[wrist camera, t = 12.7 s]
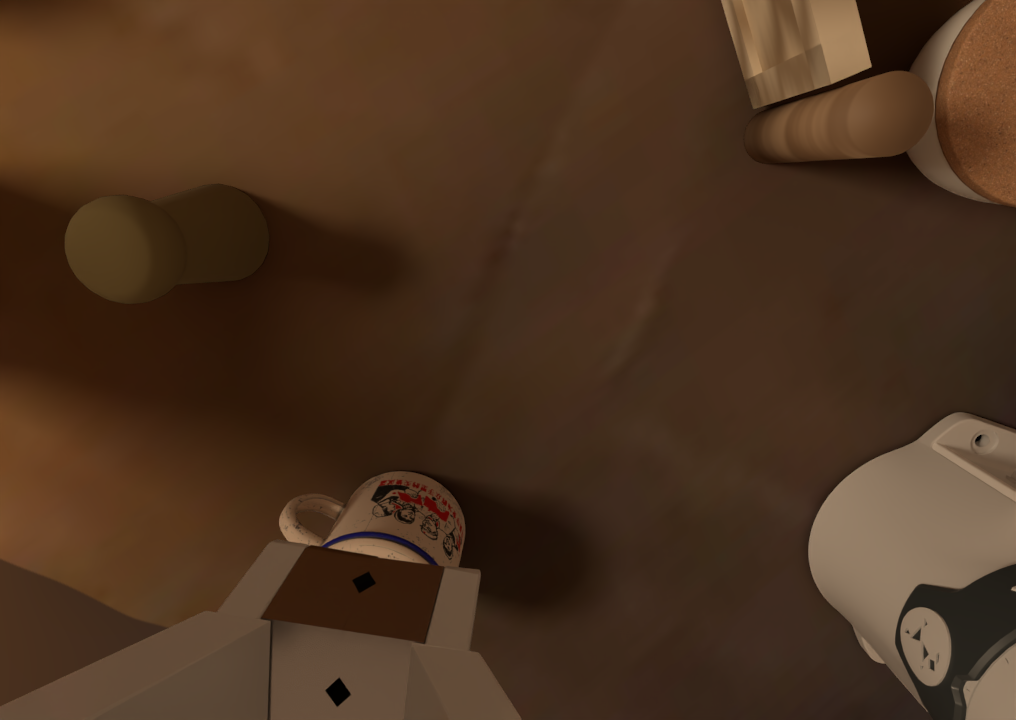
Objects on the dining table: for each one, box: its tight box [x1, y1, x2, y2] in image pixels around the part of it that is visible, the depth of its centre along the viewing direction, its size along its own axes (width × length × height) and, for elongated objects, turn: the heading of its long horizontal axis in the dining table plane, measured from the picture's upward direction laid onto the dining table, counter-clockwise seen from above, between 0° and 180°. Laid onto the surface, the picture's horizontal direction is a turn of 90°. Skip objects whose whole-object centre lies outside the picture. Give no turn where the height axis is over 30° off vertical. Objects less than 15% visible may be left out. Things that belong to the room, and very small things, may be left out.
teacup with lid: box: [279, 471, 465, 567], centre depth 38 cm, size 12×9×12 cm
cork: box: [65, 184, 270, 304], centre depth 34 cm, size 6×6×11 cm
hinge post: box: [744, 71, 934, 164], centre depth 29 cm, size 3×3×13 cm
